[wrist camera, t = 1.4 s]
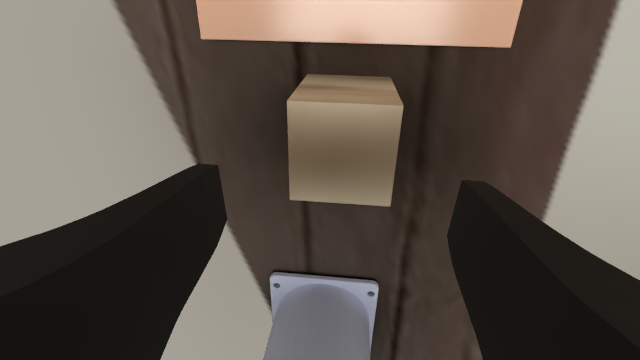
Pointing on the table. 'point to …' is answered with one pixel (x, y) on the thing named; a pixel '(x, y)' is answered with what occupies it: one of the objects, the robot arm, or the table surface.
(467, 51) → the table surface
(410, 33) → the terracotta tile
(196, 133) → the table surface
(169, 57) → the table surface
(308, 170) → the maple block
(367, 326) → the robot arm
